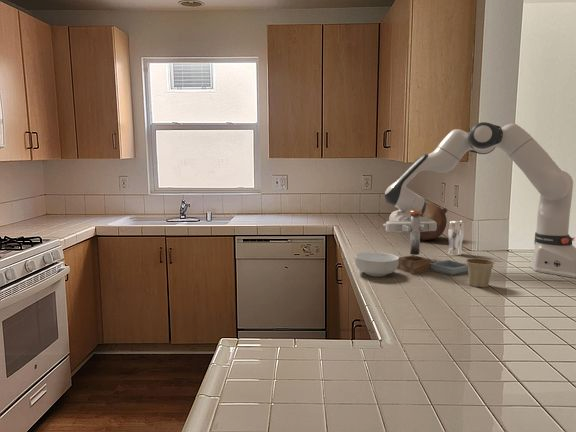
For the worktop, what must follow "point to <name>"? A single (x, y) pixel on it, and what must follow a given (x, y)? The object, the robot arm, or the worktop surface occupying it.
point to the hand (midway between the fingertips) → (415, 229)
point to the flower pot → (479, 271)
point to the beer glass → (455, 237)
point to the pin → (415, 232)
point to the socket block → (414, 264)
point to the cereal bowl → (376, 263)
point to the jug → (439, 217)
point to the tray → (449, 267)
